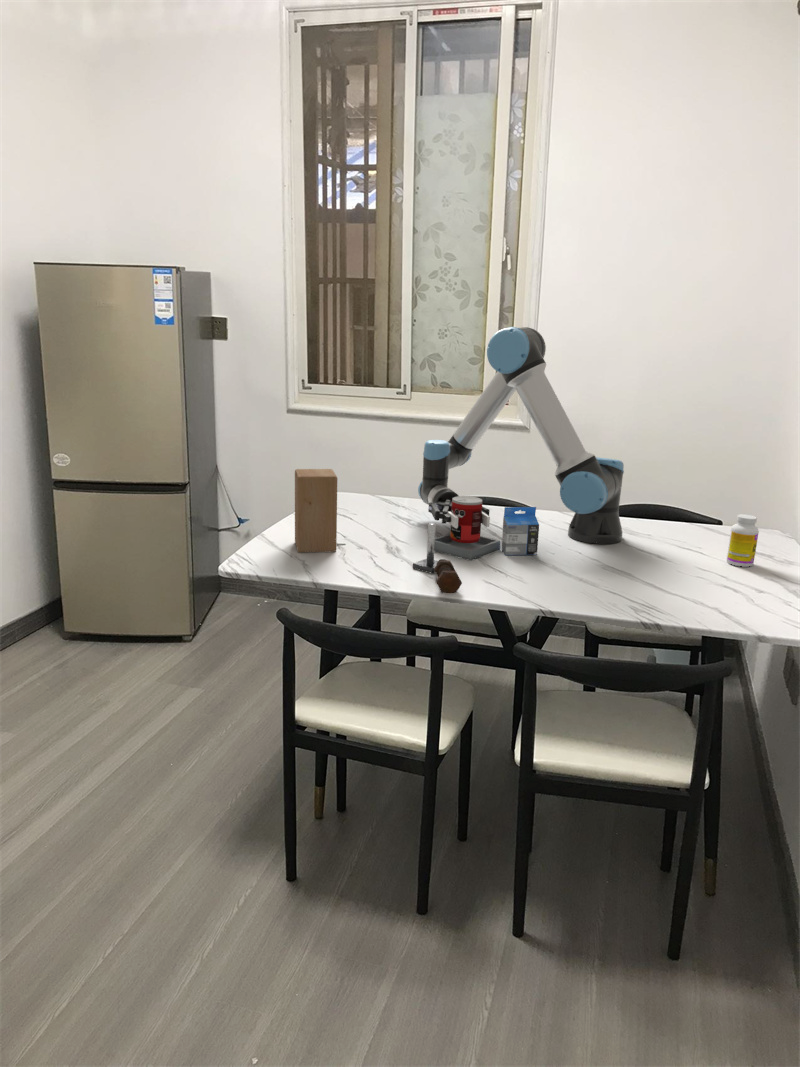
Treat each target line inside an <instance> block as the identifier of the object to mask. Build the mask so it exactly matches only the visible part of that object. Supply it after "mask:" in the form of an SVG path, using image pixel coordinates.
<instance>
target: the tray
mask: <svg viewBox="0 0 800 1067" xmlns="http://www.w3.org/2000/svg"><path fill="white" fill-rule="evenodd" d="M501 543H502V540H499V539H495V538H490V537H487V536H483V535H480V539H479V541H478V542H475V543H459V542H455V541H453V540H452V539H451V537H450V533H447V534H444V535H441V536H438V537H435V549H434V552H437V553H441V554H444V555H448V556H452V557H455V558H460V559H463V560H467V561H471V562H472V561H473V560H477V559H479V558H482V557H486V556H488V555H490V554H494V553H495V552H499V551H501Z"/></svg>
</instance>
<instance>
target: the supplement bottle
mask: <svg viewBox="0 0 800 1067" xmlns="http://www.w3.org/2000/svg"><path fill="white" fill-rule="evenodd" d="M757 519H758V518H757V517H756V516H755V515H751V514H745V513H744V514H737V517H736V522H737V523H735V524H733V525H732V526H731V529H730V535H729V541H728V546H727V554H726V558H725V559H726V562H727V563H728V564H729V565H731V564H732V565H731V566H734V565H735V567H740V566H742V567H741V568H750V567H752V566H754V562H755V556H756V551H757V544H758V539H759V532H760V530H759V528H758V527H757V526H756V523H757ZM749 566H750V567H749Z"/></svg>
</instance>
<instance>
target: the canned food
mask: <svg viewBox="0 0 800 1067" xmlns="http://www.w3.org/2000/svg"><path fill="white" fill-rule="evenodd" d="M482 506H483V499H482V498H479V497H477V496H470V495H469V496H468V495H459V496H457V497H454V498H452V510H451V512H452V513H453V514H454V515H455V516H457V517H458V528H454V527H453V526H452V525H451V524H450V530H449V531H450V533H449V534H450V537H451V539H452V540H453V541H455V542H459V543H475V542H478V541H479V539H480V536H481V531H482V530H481V529H482V528H481V527H482V523H481V518H482Z"/></svg>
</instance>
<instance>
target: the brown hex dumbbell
mask: <svg viewBox="0 0 800 1067" xmlns="http://www.w3.org/2000/svg"><path fill="white" fill-rule="evenodd" d="M437 561H438V562H437V565H436V566H435V568H434V570H435V574H436V576H437V578H436V581H435V583H436V585H437V587H438V589H439V590H440V593H442V594H456V593H457V592H458V591H459V589H460V587H461V586H462V584H463V582H462V580H461V578H460V577H459V575H458V572H457V571H456V569H455V566H454V565H453V563H452V561H451V560H448V559H441V558H440V559H439V560H437Z"/></svg>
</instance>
